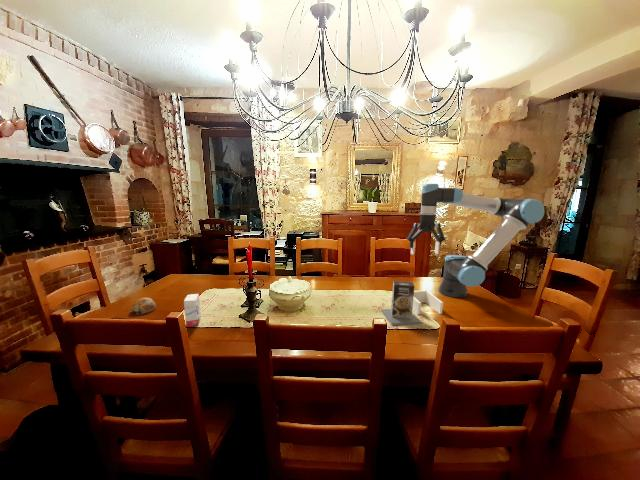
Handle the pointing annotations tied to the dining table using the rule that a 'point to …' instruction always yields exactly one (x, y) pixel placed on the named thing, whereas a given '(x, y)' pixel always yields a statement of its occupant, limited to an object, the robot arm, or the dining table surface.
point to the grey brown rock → (143, 306)
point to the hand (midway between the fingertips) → (424, 253)
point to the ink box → (192, 309)
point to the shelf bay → (428, 298)
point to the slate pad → (399, 320)
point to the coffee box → (402, 299)
